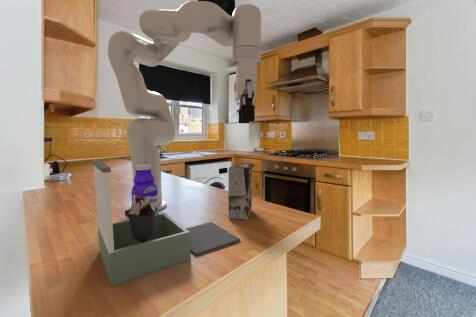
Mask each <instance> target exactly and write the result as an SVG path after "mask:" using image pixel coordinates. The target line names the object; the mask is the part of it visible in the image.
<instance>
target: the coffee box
mask: <svg viewBox="0 0 476 317" xmlns="http://www.w3.org/2000/svg"><path fill="white" fill-rule="evenodd" d="M227 176H228V179H227V180H228V183H227V184H228V186H227V187H228V195H227V196H228V213H227V214H228V217H227V218H229V219H236V220H237V219H238V220H248V219H249V217H250V216H251V213H252V210H253V198H252V197H253V194H252V193H253V183H252V182H253V179H252V178H253V165H252V164H247V163H246V164H233V165H231V166H230V167H228V175H227Z"/></svg>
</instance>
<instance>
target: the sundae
mask: <svg viewBox="0 0 476 317" xmlns="http://www.w3.org/2000/svg"><path fill="white" fill-rule="evenodd" d="M134 189H135V190H136V191H137V189H136V187H134ZM137 193H138V191H137ZM131 204H132V203H131ZM157 210H158V208H155V207H153V206H152V205H150V204H149V201H148V200H147V199H145V198H142V197H141V196H139V193H138V196H136V197H135V201H134V203H133V204H132V206H131V209H125V211H124V216H126V217H127V218H128V220H130V225H131V230H132V234H133V237H134V238H135V239H137V240H139V241H140V242H141V243H144V242H147V241H146V240H147V239H148V238H150V236H151V235H152V234H153V229H154V219H155V212H157ZM158 211H159V210H158Z"/></svg>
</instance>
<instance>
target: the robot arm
mask: <svg viewBox="0 0 476 317" xmlns="http://www.w3.org/2000/svg"><path fill="white" fill-rule="evenodd" d="M138 24H139V28H140V30H141V31H142V33H143V34H144V35H145V36H146V37H148V38H149V39H150V40H151V39H152V40H153V41H150V40H148V39H145V38H143V37H141V36H139V35H137V34H134V33H131V32H128V31H121V30H120V31H116V32H114V33H113V34H112V35H111V36H110V38H109V41H108V44H107V45H108V46H107V56H108V60H109V63H110V66H111V69H112V70H113V73H114V75H115V77H116V80H117V84H118V88H119V91H120V96H121V99H122V102H123V105H124V108H125V111H126V112H127V114H129V115H131V116H133V117H135V116H136V117H140V118H135V119H133V120H131V121H130V122H129V123H128V125H127V128H126V136H127V139H128V144H129V148H130V154H131V155H130V156H131V170H132V171H131V172H132V187H133V186H134V184H135V183H134V182H133V180H134V178H135V175H136V165H140V164H150V165H151V173H152V176H153V177H154V183H155V185H156V187H157V191H158V211H160V210H162V209H164V208H166V207H167V201H165V200H164V199H163V194H162V193H163V192H162V191H163V190H162V162H161V156H160V153H159V150H158V148H157V147H156V146H164V145H169V144H171V143H172V142H173V141H174V139H175V135H176V128H175V124H174V120H173V116H172V112H171V110H170V107H169V103H168V101H167V99H166V98H165V97H164V95H163V94H162V93H161V94H160V93H158V92H156V91H153V90H152V91H151V90H149V89H148V88H147V85H146V84H145V80H144V77H143V74H142V72H141V71H140V70H139V68H138V66H137V65H136V64H135V63H137V64H140V65H144V66H146V67H149V68H150V67H154V68H155V67H157V66H159V65H160V64H161V63H162V62H163V61H164V60H165V59H166V58H167V57H168V56H169V55H170V54H171V53H173V51H174V50H175V49H176V48H177V47H178V45H180V43H183V42H184V43H185V42H187V41H188V40H189V39H190V37H191V35H192V33H195V34H202V35H205V36H206V37H208V38H209V39H211V40H213V41H214V42H215V43H217V44H219V45H220V46H222V47H231V46H232V65H233V66H235V89H234V91H235V92H234V93H235V95H234V101H235V102H236V103H238V102H239V106H238V107H239V109H238V124H249V123H253V122H255V116H256V115H255V114H256V112H255V109H256V108H255V107H256V105H255V99H256V96H257V80H258V79H257V76H258V74H257V72H258V71H257V68H258V66H260V65H261V63H262V62H261V61H262V60H261V57H262V56H261V55H262V53H261V52H262V50H261V49H262V11H261V10H260V8H259V7H258V6H256V5H255V4H251V3H244V4H243V3H242V4H240V5H238V6H236V7H235V8H234V10H233V12H232V15H230V14H228V13H227V12H226V11H225V10H224V9H223V8H222V7H220V6H219V5H218V4H217V3H215V2H211V1H204V0H192V1H186V2H184V3H183V4H182V5H180V6H179V8H177V9H155V8H154V9H146V10H144V11H143V12H142V13H141V14H140V16H139V19H138ZM131 206H132V203H130V204H129V207H128V208H129V209H131ZM129 209H128V210H129Z"/></svg>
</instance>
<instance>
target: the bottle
mask: <svg viewBox="0 0 476 317" xmlns="http://www.w3.org/2000/svg"><path fill="white" fill-rule="evenodd" d="M133 182H134V183H135V184H134V186H133V185H132V189H131V194H130V195H131V204H133V203H134V201H135V197H136V196H138V193H139V196H141V197H142V198H145V199H147V200H148V201H149V204H150V205H152V206H153V207H155V208H158V191H157V187H156V185H155V183H154V177H153V176H152V173H151V165H150V164H140V165H136V175H135V178H134V180H133V179H132V183H133ZM134 187H136V189H137V191H138V193H137V191H136V190H135V189H134ZM159 211H160V210H157V212H155V215H157V214H160V213H159Z"/></svg>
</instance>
